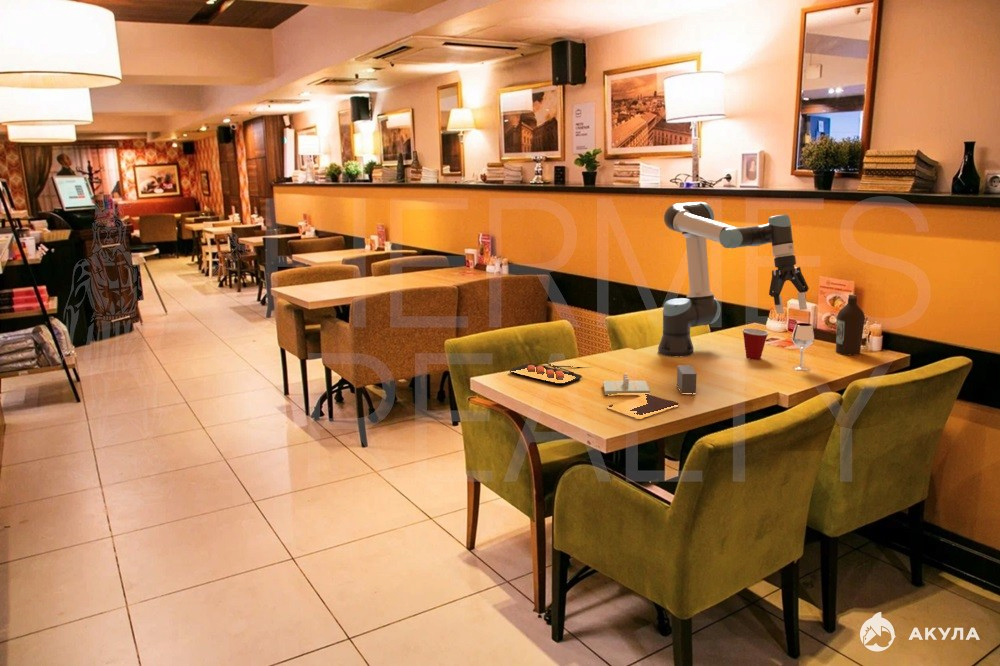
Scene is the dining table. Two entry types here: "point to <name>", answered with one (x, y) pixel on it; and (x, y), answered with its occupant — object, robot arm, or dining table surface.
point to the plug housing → (686, 379)
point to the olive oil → (850, 328)
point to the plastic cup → (754, 342)
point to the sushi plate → (549, 371)
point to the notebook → (653, 405)
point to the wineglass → (802, 340)
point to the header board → (625, 386)
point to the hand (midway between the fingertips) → (792, 311)
